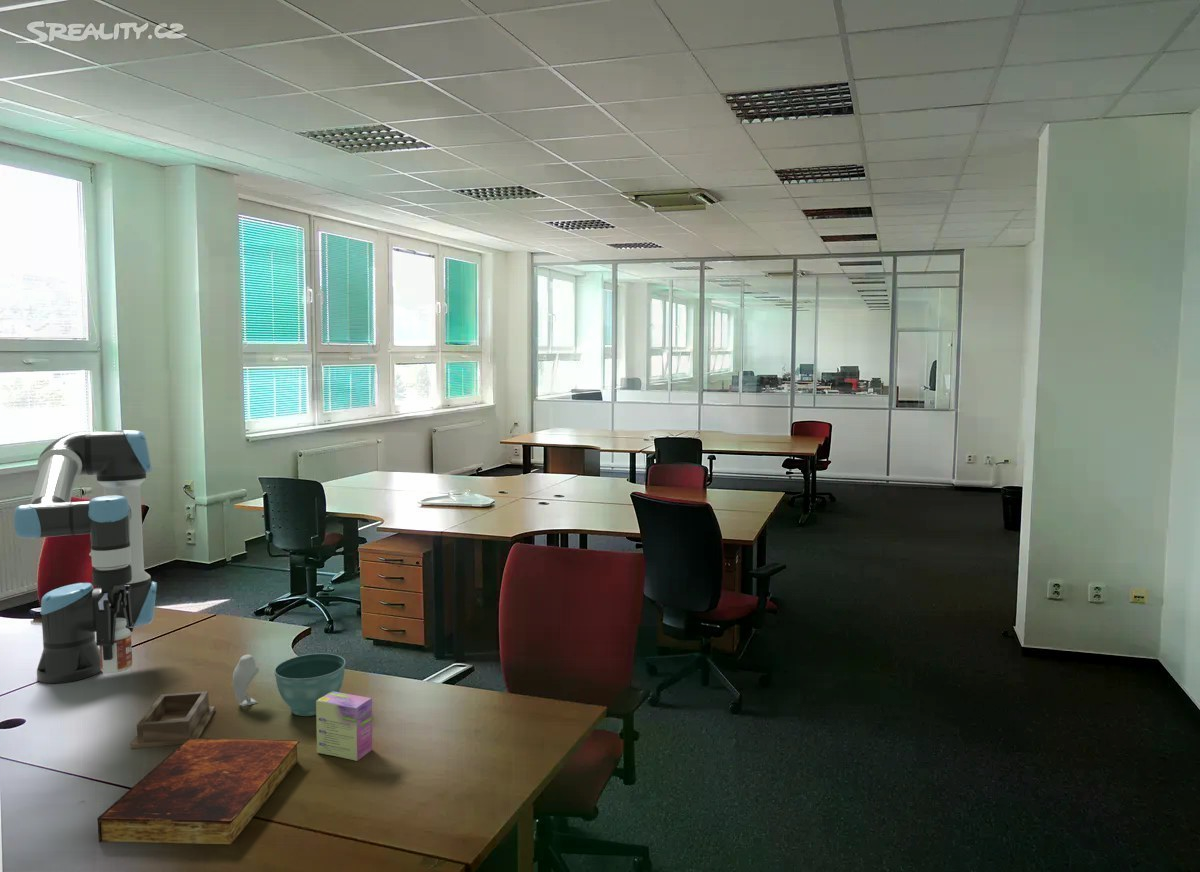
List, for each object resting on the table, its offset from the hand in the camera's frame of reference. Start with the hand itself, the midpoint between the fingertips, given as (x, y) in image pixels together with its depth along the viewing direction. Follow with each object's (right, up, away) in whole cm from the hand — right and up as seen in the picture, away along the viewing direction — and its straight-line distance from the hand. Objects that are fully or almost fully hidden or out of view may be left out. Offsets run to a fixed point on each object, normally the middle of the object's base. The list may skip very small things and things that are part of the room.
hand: (116, 666), depth 180 cm
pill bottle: (0, -1, 0) cm, 1 cm away
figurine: (+22, -14, +17) cm, 31 cm away
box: (+53, -17, -7) cm, 56 cm away
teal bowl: (+39, -15, +15) cm, 44 cm away
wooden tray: (+11, -15, +4) cm, 19 cm away
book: (+33, -19, -25) cm, 46 cm away
